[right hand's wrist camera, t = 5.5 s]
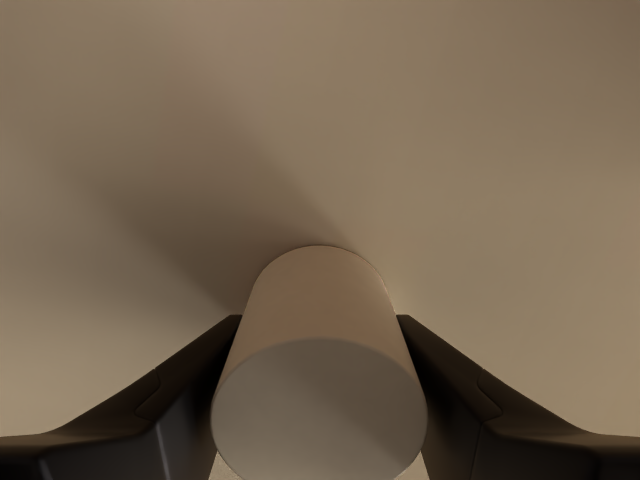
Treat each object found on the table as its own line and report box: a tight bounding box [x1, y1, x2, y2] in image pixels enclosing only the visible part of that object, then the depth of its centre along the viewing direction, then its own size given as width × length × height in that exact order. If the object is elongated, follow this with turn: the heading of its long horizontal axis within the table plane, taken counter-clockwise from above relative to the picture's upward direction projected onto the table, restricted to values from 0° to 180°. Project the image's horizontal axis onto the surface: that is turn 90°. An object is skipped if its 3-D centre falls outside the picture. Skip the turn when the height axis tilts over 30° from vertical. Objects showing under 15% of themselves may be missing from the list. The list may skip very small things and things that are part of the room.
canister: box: [210, 246, 428, 480], centre depth 10 cm, size 5×5×5 cm
